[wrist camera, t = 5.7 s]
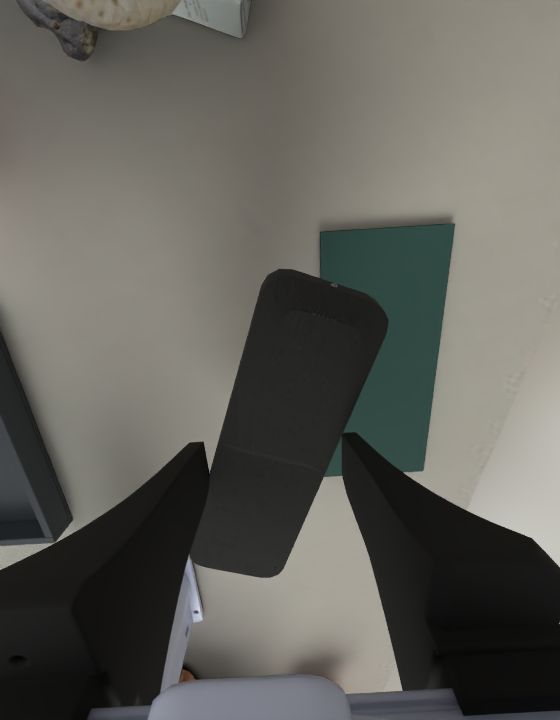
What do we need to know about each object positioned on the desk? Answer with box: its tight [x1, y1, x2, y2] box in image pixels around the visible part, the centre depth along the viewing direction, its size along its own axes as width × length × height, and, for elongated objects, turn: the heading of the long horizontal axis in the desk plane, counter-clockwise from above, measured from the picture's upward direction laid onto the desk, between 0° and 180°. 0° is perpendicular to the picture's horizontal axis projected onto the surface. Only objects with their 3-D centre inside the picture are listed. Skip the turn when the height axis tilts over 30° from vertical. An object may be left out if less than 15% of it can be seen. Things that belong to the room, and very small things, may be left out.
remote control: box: [190, 269, 389, 578], centre depth 13 cm, size 5×2×15 cm
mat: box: [320, 224, 455, 477], centre depth 20 cm, size 18×8×1 cm, turn 3°
